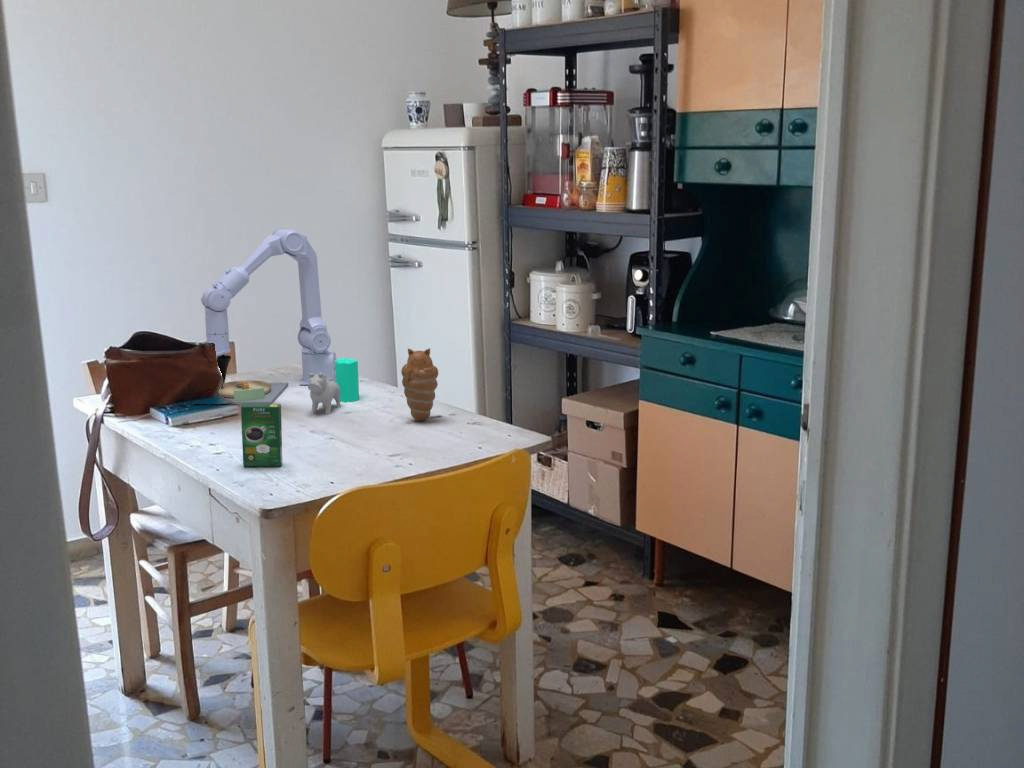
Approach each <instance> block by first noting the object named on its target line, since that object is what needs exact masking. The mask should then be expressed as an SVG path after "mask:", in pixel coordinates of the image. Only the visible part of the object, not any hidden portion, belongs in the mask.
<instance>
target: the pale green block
mask: <svg viewBox="0 0 1024 768" xmlns="http://www.w3.org/2000/svg"><path fill="white" fill-rule="evenodd" d="M263 398H265V395H264V388H263V387H260V388H254V389H244V390H234V401H249V400H257V399H263Z"/></svg>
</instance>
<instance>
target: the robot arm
mask: <svg viewBox="0 0 1024 768" xmlns="http://www.w3.org/2000/svg"><path fill="white" fill-rule="evenodd" d="M285 254H286V255H288V256H289V257H291V258H292V259H293V260H295V261H296V262H297V269H298V280H299V292H300V293H299V294H300V302H301V303H300V304H301V307H300V308H301V315H302V317H301V320H300V322H299V330H298V333H297V341H298V343H299V345H300V346H301V348H302V349H301V365H302V366H301V367H302V380H301V381H300V382H299V386H308V385H309V374H310V373H313V374H319V373H322V374H323V375H326V379H328V378H332V380H333V381H334V382H336V366H335V360H337V355H336V352H335V351H329V348H330V346H331V342H332V341H331V336H330V335H329V332H328V329H327V325H326V322H325V321H324V319H323V317H322V308H321V307H322V305H321V293H320V291H321V290H320V281H319V280H320V279H319V267H318V266H319V265H318V256H317V253H316V251H315V249H314V248H313V246H312V245H311V244H310V242H309V241H308V237H307V235H305V234H304V233H302V232H301V231H299V230H297V229H287V228H284V227H280V228H276V229H275V230H274V231H272V233H271V234H269V235H268V236H267V237H266V238H265V239H264V240H263V241H262V242H261V244H260V245H259V246H258V247H257V248H255V250H254V251H253V252H252V253H251V254H250V255H249V257H247V259H246V260H244V261H243V262H242V264H240V266H232V267H231V268H229V267H227V269H226V270H225V271H224V272H225V274H224V275H223V276H222V277H221V278H219V279H218V280H217V281H214V282H212V286H213V287H208V288H206V289H205V290H204V291H203V292H202V296H201V298H200V301H201V304H202V305H203V307H204V314H205V317H204V319H205V320H204V321H205V322H204V323H205V333H206V334H205V335H206V344H207V343H214V344H215V351H216V358H217V362H218V366H219V368H220V371H221V373H222V377H223V383H226V379H227V378H226V376H227V371H228V367H229V364H230V361H231V359H232V356H231V355H226V354H229V353H231V348H230V334H229V333H230V332H229V319H228V318H229V317H228V308H229V307H230V304H231V299H234V298H235V296H237V295H238V293H239V292H241V291H242V289H243V288H245V287H246V286H247V285H248V284H249V282H250V275H252V274H253V273H254V271H256V270H258V268H259V267H260V266H262V265H263V264H264V263H265V262H267V261H268V260H269V258H271V257H274V256H282V255H285Z"/></svg>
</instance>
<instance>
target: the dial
mask: <svg viewBox="0 0 1024 768" xmlns="http://www.w3.org/2000/svg"><path fill="white" fill-rule="evenodd" d="M269 383H270V382H266V381H262V380H235V381H227V382H225V383H223V377H222V386H221V389H220V391H219V395H220V396H222V397H228V398H234V390H244V389H254V388H260V387H263V388H264V394H266V393H268V392H270V391H271V384H269Z"/></svg>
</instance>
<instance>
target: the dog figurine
mask: <svg viewBox="0 0 1024 768" xmlns="http://www.w3.org/2000/svg"><path fill="white" fill-rule="evenodd" d="M307 388H308V390H309V391H310V393H309V395H310V397H309V398H310V399H311V401H312V405H311V412H310V413H311V414H317V411H318V408H319V404H320V403H321V404H322V406H321V407H322V408H324V409H325V414H326V415H330V414H331V412H332V411H331V410H332V401H333V399H334V401H335V403H336V404H335V406H336V408H337V409H338V408H339V409H340V408H341V402H340V387H339V385H338V384H337V382H336V381H335V382H334V381H333V380H332V378H328V379H326V375H323V374H322V373H319V374H313V373H310V374H309V385H307Z"/></svg>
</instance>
